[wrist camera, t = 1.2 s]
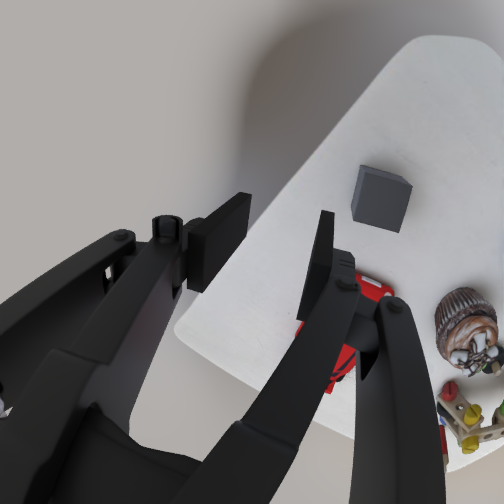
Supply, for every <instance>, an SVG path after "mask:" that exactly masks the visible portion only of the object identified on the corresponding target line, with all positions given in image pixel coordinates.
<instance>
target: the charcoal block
mask: <svg viewBox="0 0 504 504" xmlns="http://www.w3.org/2000/svg"><path fill="white" fill-rule="evenodd" d="M412 187H413V186H412V185H411V184H410V183H408V182H407V181H406V180H405V179H404V178H403V177H401V176H398V175H395V174H391V173H388V172H385V171H381V170H378V169H374V168H370V167H367V166H363V165H360V170H359V174H358V179H357V183H356V187H355V192H354V196H353V200H352V204H351V210H352V216H353V221H356V222H360V223H364V224H368V225H371V226H375V227H379V228H382V229H386V230H390V231H393V232H397V233H399V231H400V228H401V225H402V222H403V218H404V215H405V212H406V209H407V205H408V202H409V198H410V195H411V191H412Z"/></svg>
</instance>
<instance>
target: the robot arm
mask: <svg viewBox="0 0 504 504" xmlns="http://www.w3.org/2000/svg"><path fill="white" fill-rule="evenodd" d="M251 196H252V194H248V193H243V192H239V193H237V194H236V195H235V196H233V197H232V198H231V199H230V200H228V201H227V202H226V203H225V204H223V205H222V206H221V207H219V208H218V209H217V210H215V211H214V212H213V213H211V214H210V215H209V216H208V217H206V218H205V219H204V218H200V217H199V218H195V219H192V220H190V221H189V222H188V223H186V224H185V225H183V220H182V219H181V218H180V217H177V216H173V215H161V216H158V217H155V218H153V219H152V228H153V229H152V231H153V237H152V238H151V240H150V241H149V242H137V241H136V237H135V233H134V232H132V231H130V230H126V229H123V230H122V229H119V230H117V231H113V232H111V233H109V234H107V235H106V236H104V237H102V238H100V239H99V240H97V241H96V242H94V243H92V244H90V245H89V246H87V247H85V248H84V249H82V250H80V251H79V252H77V253H75V254H74V255H72V256H71V257H69V258H68V259H66V260H64V261H63V262H61V263H60V264H58V265H57V266H55V267H53V268H52V269H50V270H49V271H47V272H46V273H44V274H43V275H41V276H40V277H38V278H37V279H35V280H34V281H32V282H31V283H30V284H28V285H27V286H25V287H24V288H22V289H21V290H20V291H18V292H17V293H15V294H14V295H13V296H11V297H10V298H8V299H7V300H6V301H4V302H3V303H2V304H0V504H269V503H270V501H271V499H272V498H273V496H274V494H275V493H276V491H277V489H278V487H279V486H280V484H281V483H282V481H283V479H284V477H285V475H286V474H287V472H288V470H289V468H290V466H291V464H292V463H293V460H294V459H295V457H296V455H297V452H298V450H299V445H300V443H301V441H302V439H303V437H304V435H305V433H306V431H307V429H308V427H309V425H310V423H311V421H312V419H313V417H314V414H315V412H316V410H317V408H318V406H319V403H320V401H321V399H322V397H323V394H324V392H325V390H326V387H327V385H328V383H329V380H330V378H331V375H332V373H333V370H334V368H335V365H336V363H337V360H338V358H339V355H340V352H341V350H342V347H343V344H346V345H348V346H350V347H352V348H354V349H356V353H355V356H356V417H355V442H354V457H353V469H352V480H351V489H350V498H349V504H446V490H445V489H446V488H445V473H444V461H443V452H442V444H441V436H440V429H439V423H438V417H437V411H436V406H435V401H434V396H433V391H432V386H431V382H430V377H429V373H428V369H427V365H426V361H425V357H424V353H423V349H422V346H421V342H420V339H419V335H418V332H417V328H416V325H415V322H414V318H413V315H412V312H411V309H410V307H409V306H408V304H406V303H405V302H404V301H403V300H402V299H400V298H398V297H394V296H388V295H387V296H382V297H381V298H380V300H379V302H376V301H374V300H372V299H370V298H368V297H366V296H365V295H363V294H362V293H361V291H362V286H361V285H360V283H359V282H358V281H356V269H355V258H354V257H353V255H352V254H351V253H350V252H347V251H343V250H339V249H335V248H333V240H334V215H335V213H333V212H329V211H325V210H322V211H321V215H320V219H319V224H318V228H317V232H316V237H315V241H314V245H313V249H312V253H311V258H310V262H309V267H308V271H307V276H306V280H305V285H304V289H303V293H302V298H301V302H300V306H299V310H298V314H297V318H296V320H300V321H304V324H303V326H302V327H301V329H300V331H299V332H298V334H297V336H296V337H295V339H294V341H293V342H292V344H291V345H290V347H289V349H288V350H287V352H286V354H285V355H284V357H283V358H282V360H281V361H280V363H279V365H278V366H277V368H276V369H275V371H274V372H273V374H272V375H271V377H270V378H269V380H268V381H267V383H266V384H265V386H264V387H263V389H262V390H261V392H260V393H259V395H258V397H257V398H256V400H255V401H254V402H253V404H252V405H251V407H250V408H249V410H248V411H247V412H246V414H245V415H244V416H243V418H242V419H241V420H240V421H235V422H234V423H233V424H232V425H231V426H230V428H229V429H228V430H227V431H226V432H225V434H224V435H223V436H222V437H221V439H220V440H219V441H218V443H217V444H216V445H215V446H214V448H213V449H212V450H211V452H210V453H209V454H208V455H207V457H206V458H205V459H204V460H203V462H201V461H198V460H196V459H193V458H191V457H188V456H185V455H180V454H175V453H170V452H164V451H160V450H155V449H151V448H147V447H143V446H141V445H139V444H138V443H137V442H135V441H134V440H133V439H132V438H131V437H130V436H129V419H130V415H131V412H132V409H133V407H134V404H135V402H136V399H137V397H138V394H139V392H140V389H141V387H142V384H143V382H144V379H145V377H146V374H147V371H148V369H149V367H150V365H151V362H152V359H153V357H154V355H155V353H156V350H157V348H158V345H159V343H160V341H161V338H162V336H163V334H164V331H165V329H166V327H167V325H168V322H169V320H170V318H171V315H172V313H173V311H174V309H175V306H176V304H177V302H178V300H179V298H180V295H181V293H182V283H183V282H184V280H185V279H186V278H187V289H190V290H193V291H197V292H200V293H203V292H204V291H205V289H206V288H207V287H208V285H209V284H210V283H211V281H212V280H213V279H214V278H215V276H216V275H217V274H218V272H219V271H220V270H221V268H222V267H223V266H224V265H225V263H226V262H227V261H228V259H229V258H230V257H231V255H232V254H233V253H234V252H235V250H236V249H237V248H238V246H239V245H240V244H241V242H242V241H243V240H244V239H245V237H246V235H247V227H248V219H249V212H250V205H251ZM109 266H110V271H111V277H110V278H108V279H107V278H106V272H105V270H106V269H107V268H108V267H109ZM11 407H13V408H12V410H11V411H10V413H9V415H8V416H7V414H6V413H5V411H6V410H8V409H9V408H11Z"/></svg>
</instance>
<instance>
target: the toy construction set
mask: <svg viewBox="0 0 504 504" xmlns="http://www.w3.org/2000/svg"><path fill="white" fill-rule="evenodd" d="M497 349H498V355H497V356H496V357H495V358H494V360H493V361H491V362H488V363H486V364H485V365H484V366H483V368H482V371H483V372H484V373H486V374H490V373H494V375H495V377H498V376H499V375H500V374H501V372H502V370H501V367H502V366H503V364H504V348H502V347H500V346H497ZM480 371H481V370H480ZM480 371H478V372H477V373H479V372H480ZM437 400H438V401H437V408H436V409H437V412H438V414H439V415H440V421H441V423H442V424H443V425H447V426H448V427H449V429H450V430H451V431H452V433H453V434H454V435H455V437H456V438H457V441H458V445H459V447H462V452H463V454H470V453H473V452H475V450H477V449H478V448H479V443H482V442H486V441H490V440H496V439H498V438H501V437H504V400H503V402H502V404H501V405H500V407H498V408H496V410H495V412H494V414H493V417H492V425H491V426H488V427H483V428H480V423H482V422H483V420H484V417H483V416H482V415H481V412H482V409H481V407H480V406H479V405H477V404H473V405H471V404H470V403H469V402H468V401H467V400H466V399H465V398H464V397H463V396H462V395H460V394H459V393H458V385H457V384H456V383H454V382H451V383H446V384H445V385H444V386H443V390H442V393H440V394H439V395H438V396H437ZM459 406H461V407H463V409H462V410H460V409H459V408H458V407H459ZM439 429H440V436H441V444H442V452H443V461H444V473H446V471H447V470H446V465H447V464H448V462H449V459H448V450H447V442H446V435H445V429H444V426H439Z"/></svg>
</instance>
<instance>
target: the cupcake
mask: <svg viewBox="0 0 504 504" xmlns="http://www.w3.org/2000/svg"><path fill="white" fill-rule="evenodd" d="M435 325H436V344H437V348H438V350H439V352H440V354H441V356H442V357H443V358H444V359H445V360H447V361H449V363H450V364H451V365H453V366H454V367H455V368H458V369H462V372H463V374H464V376H467V375H468V377H471V376H473V375H474V374H476V373H477V372H478V371H480V370H481V369H482V368H483V366H484V365H485V364H486V363H488V362H491V361H493V360H494V358H495V357H496V356H497V355H498V349H497V347H496V345H497V340H498V326H497V316H496V312H495V309H494V308H493V306H492V305H491V304H490V303H488V302H487V301H486V300H485V299H484V298H483V297H482V296H481V295H480V294H479V293H477V292H476V291H475V290H474V289H471V288H467V287H466V288H459V289H456V290H454V291H453V292H451V293H449V294H447V295H446V296H445V297H444V298H443V299H442V300H441V303H440V304H439V305H438V307H437V309H436V313H435Z"/></svg>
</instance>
